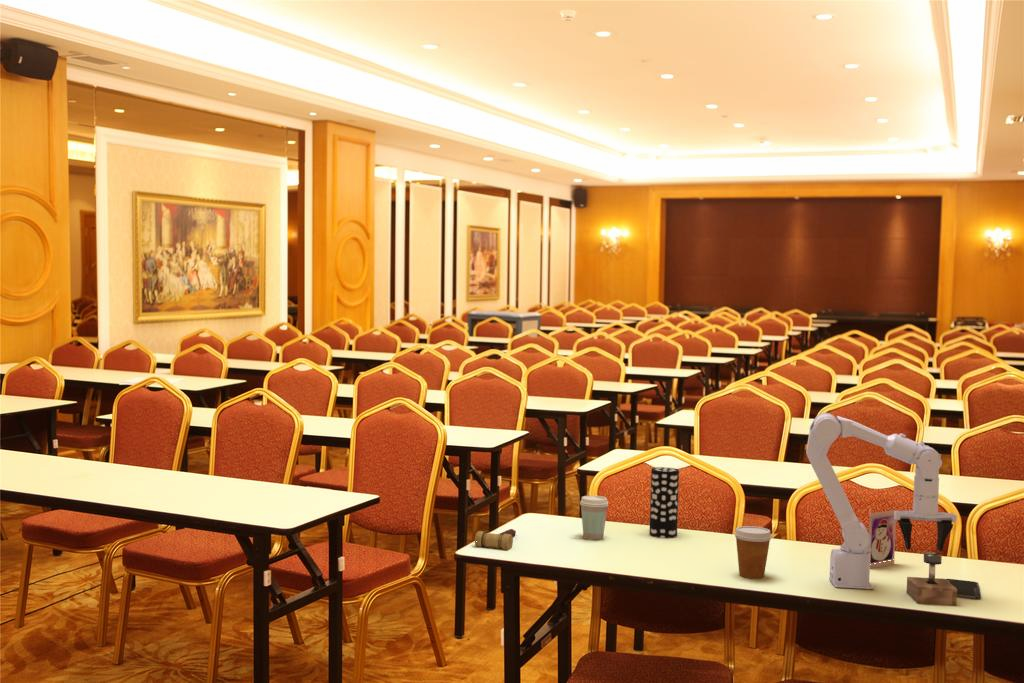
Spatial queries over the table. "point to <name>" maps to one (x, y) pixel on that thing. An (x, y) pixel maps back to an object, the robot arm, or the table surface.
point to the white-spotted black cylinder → (664, 502)
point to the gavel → (495, 539)
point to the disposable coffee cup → (752, 550)
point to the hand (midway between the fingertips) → (923, 549)
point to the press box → (931, 591)
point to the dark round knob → (932, 564)
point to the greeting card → (882, 538)
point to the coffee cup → (593, 516)
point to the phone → (966, 589)
